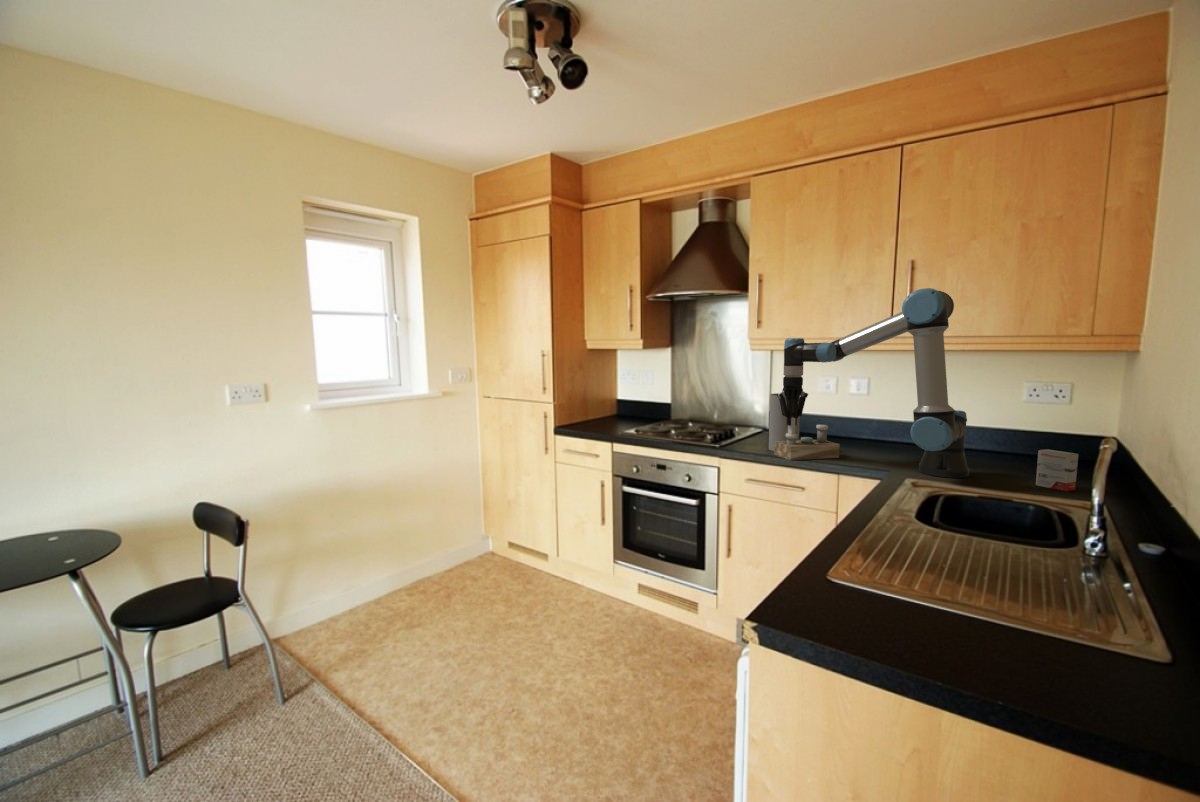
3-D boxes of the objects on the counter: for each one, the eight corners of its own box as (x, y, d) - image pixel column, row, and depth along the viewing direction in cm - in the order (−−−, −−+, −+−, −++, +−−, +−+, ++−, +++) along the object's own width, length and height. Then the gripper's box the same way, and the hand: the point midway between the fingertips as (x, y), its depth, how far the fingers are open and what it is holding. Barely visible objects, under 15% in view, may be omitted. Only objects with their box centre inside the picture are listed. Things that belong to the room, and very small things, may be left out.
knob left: (799, 452, 208) (799, 434, 207) (789, 453, 207) (789, 435, 206) (793, 450, 212) (793, 432, 211) (782, 451, 211) (783, 433, 211)
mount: (839, 458, 207) (839, 444, 207) (790, 461, 203) (790, 446, 203) (820, 452, 219) (821, 439, 218) (774, 455, 215) (774, 441, 214)
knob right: (830, 443, 210) (830, 426, 209) (820, 444, 209) (820, 426, 208) (823, 441, 215) (823, 424, 214) (813, 442, 214) (813, 424, 213)
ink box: (1076, 490, 159) (1079, 453, 158) (1067, 491, 157) (1070, 454, 156) (1043, 483, 167) (1046, 448, 165) (1034, 485, 165) (1037, 449, 164)
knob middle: (814, 456, 209) (815, 438, 208) (804, 457, 208) (805, 439, 208) (807, 454, 214) (808, 436, 213) (798, 454, 213) (798, 437, 212)
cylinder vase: (763, 448, 230) (764, 393, 227) (789, 447, 231) (790, 393, 229) (777, 454, 217) (778, 396, 215) (804, 452, 219) (806, 395, 217)
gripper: (802, 375, 211) (800, 431, 214) (773, 376, 209) (772, 432, 211) (813, 376, 204) (811, 434, 206) (783, 377, 201) (781, 435, 204)
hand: (791, 433), depth 209 cm, fingers closed
